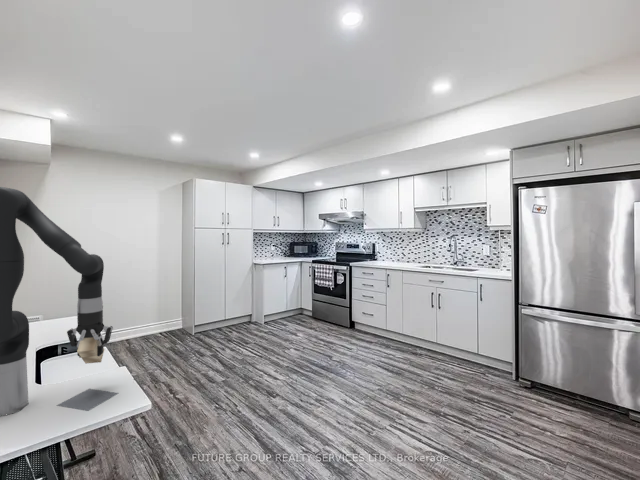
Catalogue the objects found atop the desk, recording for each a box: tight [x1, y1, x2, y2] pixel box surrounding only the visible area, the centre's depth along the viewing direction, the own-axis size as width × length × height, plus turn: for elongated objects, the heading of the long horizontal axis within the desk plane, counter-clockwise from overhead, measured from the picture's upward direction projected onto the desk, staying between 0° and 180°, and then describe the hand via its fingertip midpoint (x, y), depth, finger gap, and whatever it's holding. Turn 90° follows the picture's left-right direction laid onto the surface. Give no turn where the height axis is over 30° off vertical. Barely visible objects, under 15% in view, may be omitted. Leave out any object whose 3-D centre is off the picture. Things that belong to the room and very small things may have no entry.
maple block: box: [76, 337, 105, 364], centre depth 118 cm, size 5×5×10 cm
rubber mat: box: [56, 388, 119, 412], centre depth 115 cm, size 14×12×1 cm
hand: (90, 355), depth 117 cm, fingers closed on maple block, 5 cm apart
